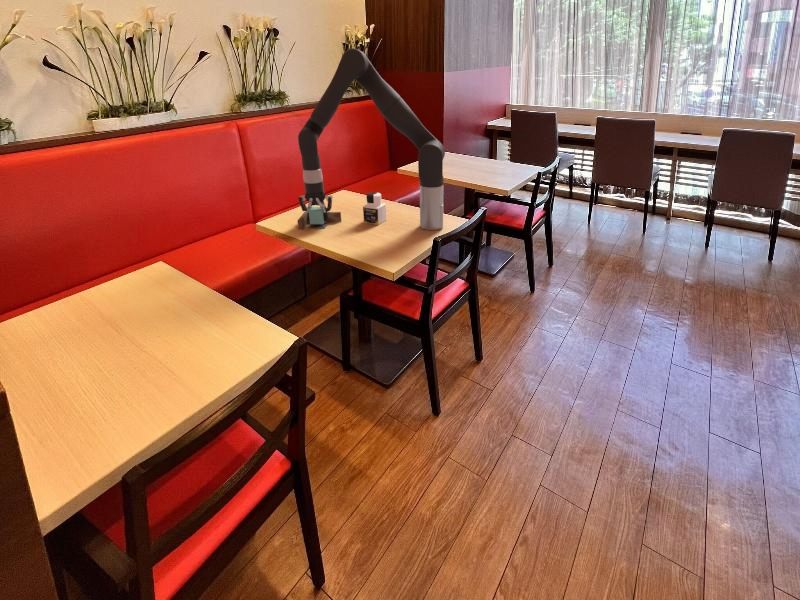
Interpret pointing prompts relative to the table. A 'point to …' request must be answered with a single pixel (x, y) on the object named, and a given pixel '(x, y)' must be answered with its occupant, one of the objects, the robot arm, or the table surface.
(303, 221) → the arena
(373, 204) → the medicine bottle
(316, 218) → the block
